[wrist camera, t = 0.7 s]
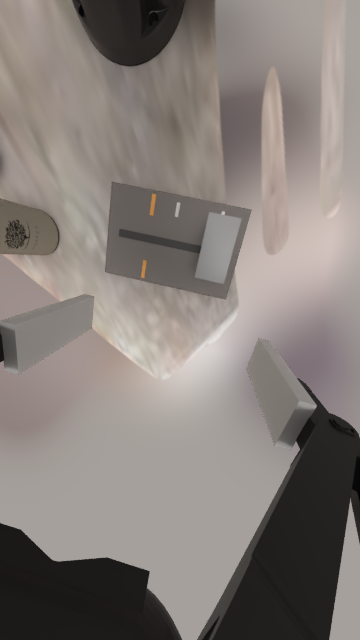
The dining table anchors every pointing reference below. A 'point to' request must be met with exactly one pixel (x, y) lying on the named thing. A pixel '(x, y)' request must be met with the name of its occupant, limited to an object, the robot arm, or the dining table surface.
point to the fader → (217, 247)
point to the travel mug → (26, 230)
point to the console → (164, 238)
